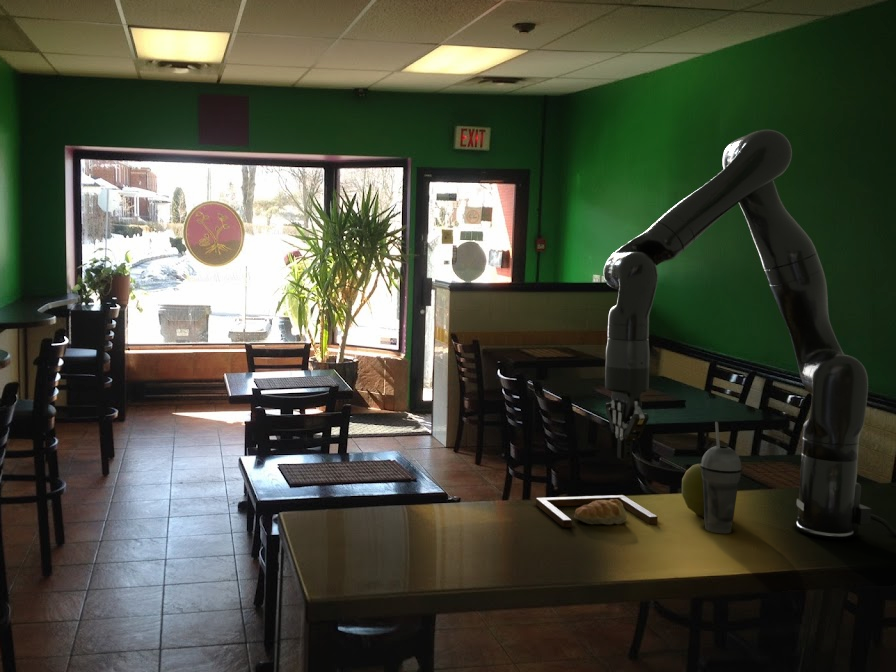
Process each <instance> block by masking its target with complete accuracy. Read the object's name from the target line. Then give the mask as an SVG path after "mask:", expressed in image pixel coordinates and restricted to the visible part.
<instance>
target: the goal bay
mask: <svg viewBox="0 0 896 672" xmlns="http://www.w3.org/2000/svg"><path fill="white" fill-rule="evenodd" d="M574 499H578V500H574ZM610 499H613V500H616V499H617V500H619V501H620V502H621V503H622V504H623V508H624V509H625V510H627V511H629V512H631V513H632V514H633V515H635V516H637V517H638V518H640V519H641V520H643V521H644V522H646V523H647V524H649V525H658V518H659V517H658V516H657V515H656V514H654V513H653V512H651V511H649V510H648V509H646V508H644V507H643V506H641V505H640V504H639V503H636V502H634V501H633V500H632V499H630V498H628V497H627V496H625V495H624V494H617V495H615V494H614V495H613V494H612V495H585V496H555V497H536V498H535V505H536V506H537V507H538V508H539V509H540V510H542V512H544V513H545V514H546V515H548V516H549V517H550V518H551V519H553V521H555V522H556V523H557V524H559V526H561V527H562V528H572V526H573V525H572V522H573V520H572V519H571V518H570V517H569V516H567V514H565V513H564V512H562V511H561V509H558V508H557V507H572V506H573V507H576V506H578V507H579V506H580V507H581V506H583V505H588V504H590V503H592V502H593V501H596V500H597V501H598V500H610ZM555 500H558V501H555Z"/></svg>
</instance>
